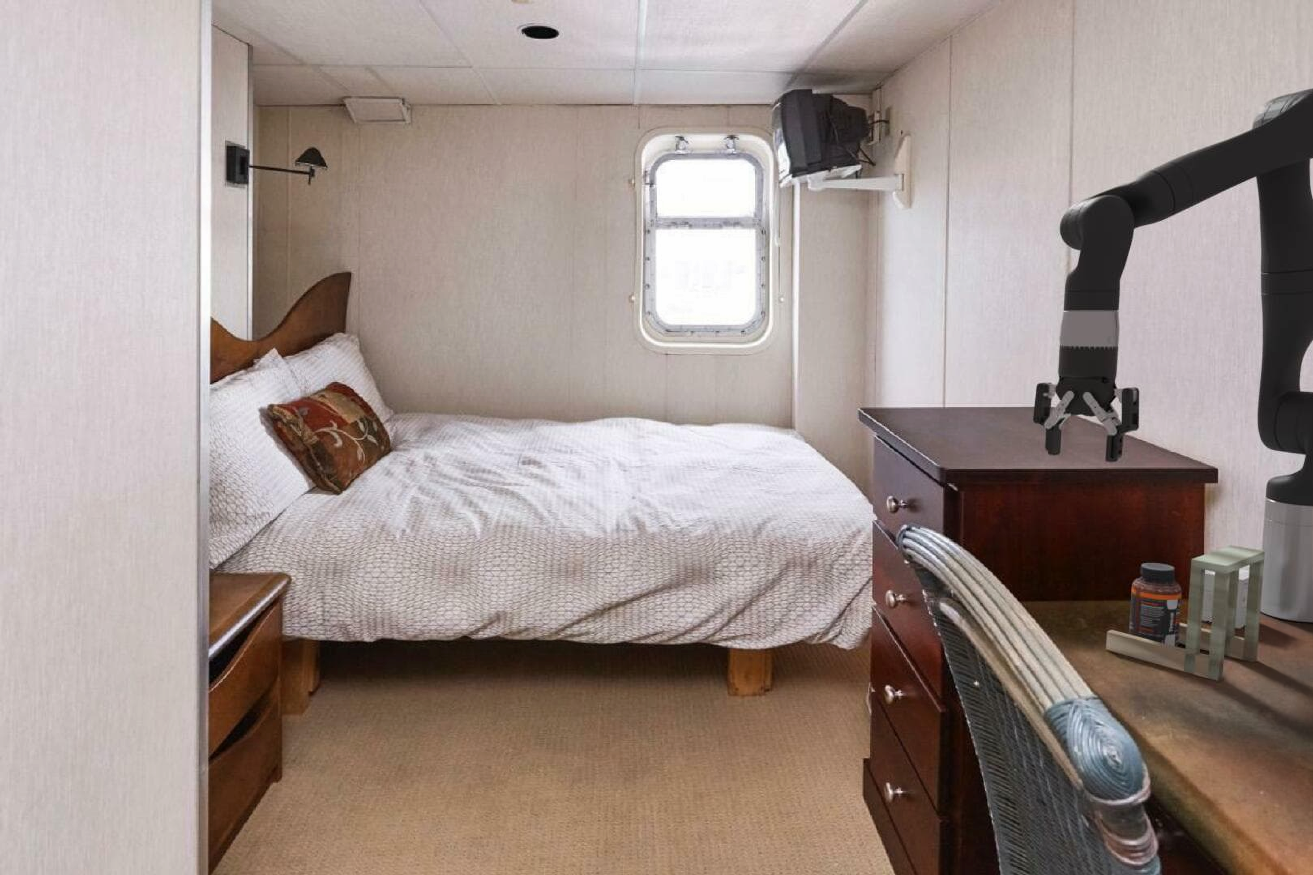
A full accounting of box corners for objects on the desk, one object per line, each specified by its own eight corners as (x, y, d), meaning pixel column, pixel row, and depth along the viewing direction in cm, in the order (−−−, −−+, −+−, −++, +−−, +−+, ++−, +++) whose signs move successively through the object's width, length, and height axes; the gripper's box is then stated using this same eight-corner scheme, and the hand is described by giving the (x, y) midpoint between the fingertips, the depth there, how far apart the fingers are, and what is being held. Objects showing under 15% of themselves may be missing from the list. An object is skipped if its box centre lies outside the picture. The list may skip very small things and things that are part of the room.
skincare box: (1240, 630, 134) (1243, 579, 133) (1194, 619, 139) (1197, 571, 138) (1256, 621, 138) (1260, 572, 137) (1211, 611, 143) (1214, 563, 142)
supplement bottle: (1184, 656, 124) (1190, 573, 122) (1135, 654, 125) (1140, 571, 124) (1169, 641, 130) (1174, 561, 128) (1123, 638, 131) (1127, 559, 129)
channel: (1147, 632, 133) (1153, 531, 132) (1256, 660, 122) (1265, 551, 121) (1106, 649, 127) (1111, 544, 125) (1218, 681, 116) (1226, 565, 114)
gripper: (1153, 344, 129) (1145, 462, 131) (1055, 342, 140) (1049, 450, 142) (1126, 345, 124) (1118, 466, 126) (1027, 342, 135) (1021, 454, 137)
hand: (1081, 458), depth 134 cm, fingers open, 8 cm apart
